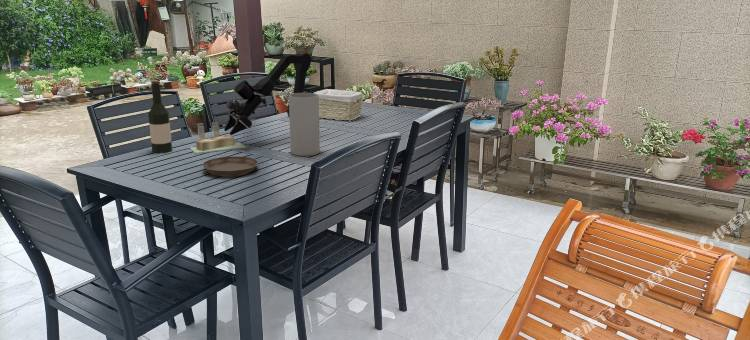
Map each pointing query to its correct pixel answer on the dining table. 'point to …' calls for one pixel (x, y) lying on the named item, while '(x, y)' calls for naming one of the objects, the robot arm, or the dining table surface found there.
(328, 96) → the storage basket
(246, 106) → the robot arm
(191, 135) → the dining table surface
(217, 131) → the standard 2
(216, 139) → the beech rail
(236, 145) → the mat
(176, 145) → the dining table surface
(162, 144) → the wine bottle
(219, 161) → the plant saucer
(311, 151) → the cylinder vase
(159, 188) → the dining table surface
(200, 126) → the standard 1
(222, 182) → the dining table surface
